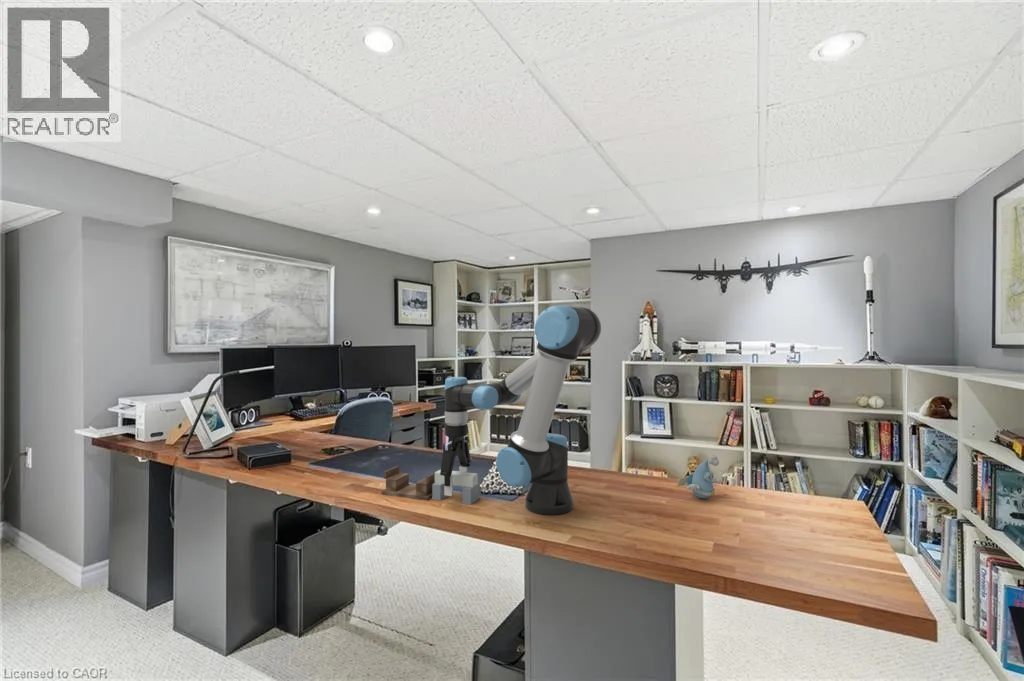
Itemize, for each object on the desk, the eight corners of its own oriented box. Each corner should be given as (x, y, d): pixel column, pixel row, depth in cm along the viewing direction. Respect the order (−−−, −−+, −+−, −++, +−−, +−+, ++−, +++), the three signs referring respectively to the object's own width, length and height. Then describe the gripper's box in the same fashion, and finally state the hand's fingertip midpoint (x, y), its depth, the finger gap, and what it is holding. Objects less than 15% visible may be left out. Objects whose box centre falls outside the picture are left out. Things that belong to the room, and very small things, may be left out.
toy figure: (705, 508, 147) (705, 460, 147) (675, 499, 155) (675, 454, 155) (730, 496, 158) (730, 452, 158) (701, 488, 166) (701, 446, 166)
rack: (442, 491, 163) (442, 469, 163) (427, 500, 154) (427, 477, 154) (398, 485, 169) (398, 464, 169) (381, 493, 160) (381, 472, 160)
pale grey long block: (477, 484, 155) (477, 473, 155) (472, 487, 151) (472, 476, 151) (440, 479, 160) (440, 469, 160) (434, 482, 156) (434, 472, 156)
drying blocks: (479, 497, 156) (479, 482, 156) (470, 504, 150) (470, 489, 150) (442, 492, 161) (442, 478, 161) (432, 499, 155) (432, 484, 155)
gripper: (461, 417, 167) (461, 479, 167) (428, 428, 146) (428, 500, 146) (480, 418, 165) (480, 482, 165) (450, 430, 144) (450, 503, 144)
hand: (456, 490), depth 156 cm, fingers open, 10 cm apart
